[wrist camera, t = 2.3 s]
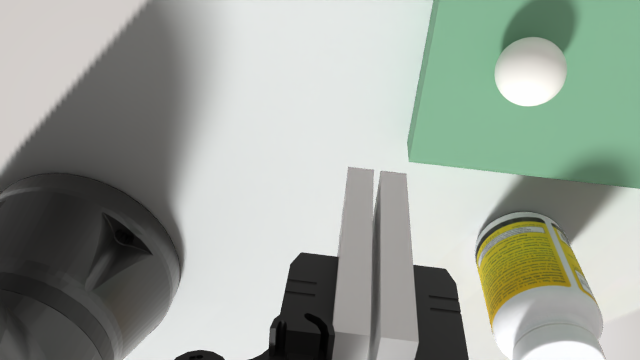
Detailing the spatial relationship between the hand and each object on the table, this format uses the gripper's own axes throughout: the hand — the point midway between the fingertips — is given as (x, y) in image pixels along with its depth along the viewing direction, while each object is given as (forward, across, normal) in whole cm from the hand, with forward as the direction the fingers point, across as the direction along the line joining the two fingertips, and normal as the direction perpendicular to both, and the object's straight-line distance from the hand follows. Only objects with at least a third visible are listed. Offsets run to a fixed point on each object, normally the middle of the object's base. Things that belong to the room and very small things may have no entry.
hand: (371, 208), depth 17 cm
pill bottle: (+19, +12, -14) cm, 26 cm away
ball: (+14, +8, 0) cm, 16 cm away
